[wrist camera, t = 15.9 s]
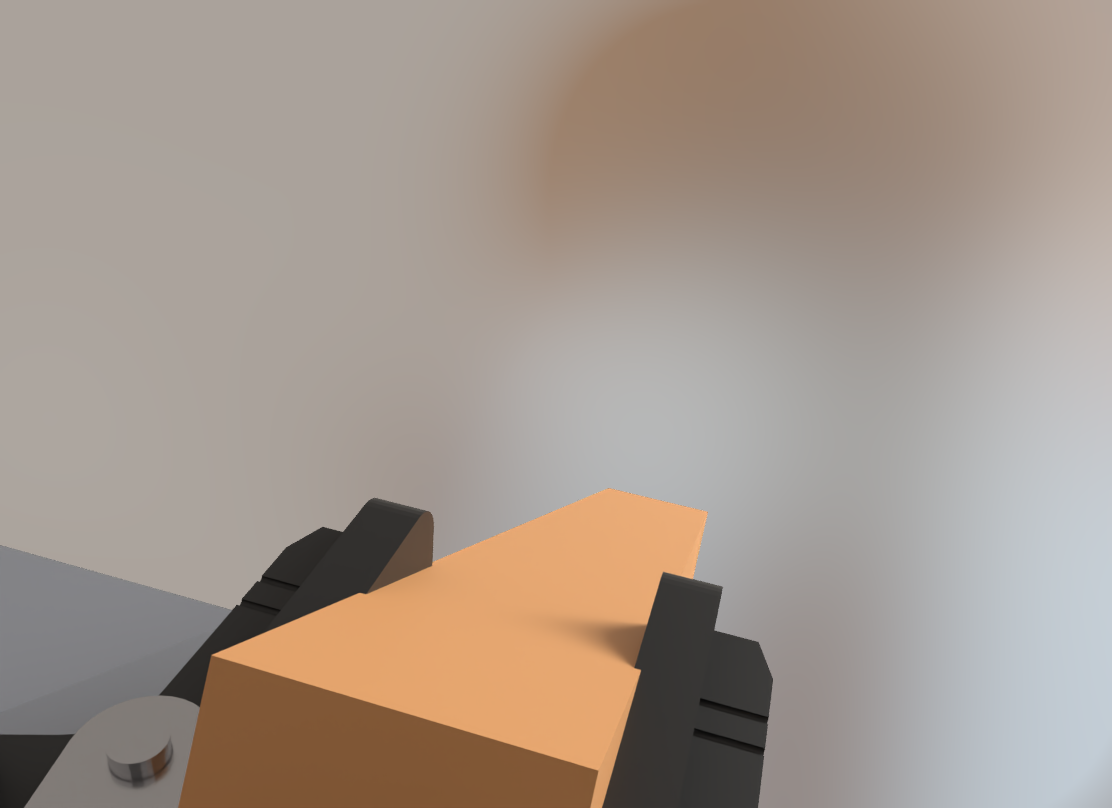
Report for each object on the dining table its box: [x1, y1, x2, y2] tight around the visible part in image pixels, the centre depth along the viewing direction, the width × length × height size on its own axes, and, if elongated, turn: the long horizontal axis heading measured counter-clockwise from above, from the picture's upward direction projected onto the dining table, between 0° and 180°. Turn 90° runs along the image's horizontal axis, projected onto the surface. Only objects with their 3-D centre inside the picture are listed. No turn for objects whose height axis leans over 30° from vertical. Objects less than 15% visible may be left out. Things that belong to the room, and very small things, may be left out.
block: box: [178, 488, 708, 808], centre depth 18 cm, size 3×22×3 cm, turn 169°
